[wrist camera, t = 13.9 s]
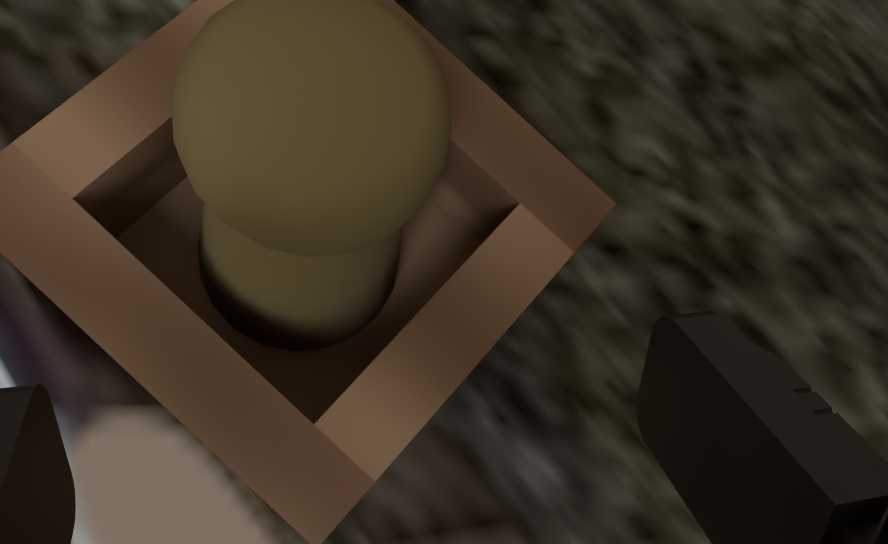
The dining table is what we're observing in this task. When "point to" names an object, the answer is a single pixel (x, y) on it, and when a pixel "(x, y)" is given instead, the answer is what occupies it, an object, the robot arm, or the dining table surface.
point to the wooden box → (236, 355)
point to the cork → (307, 160)
